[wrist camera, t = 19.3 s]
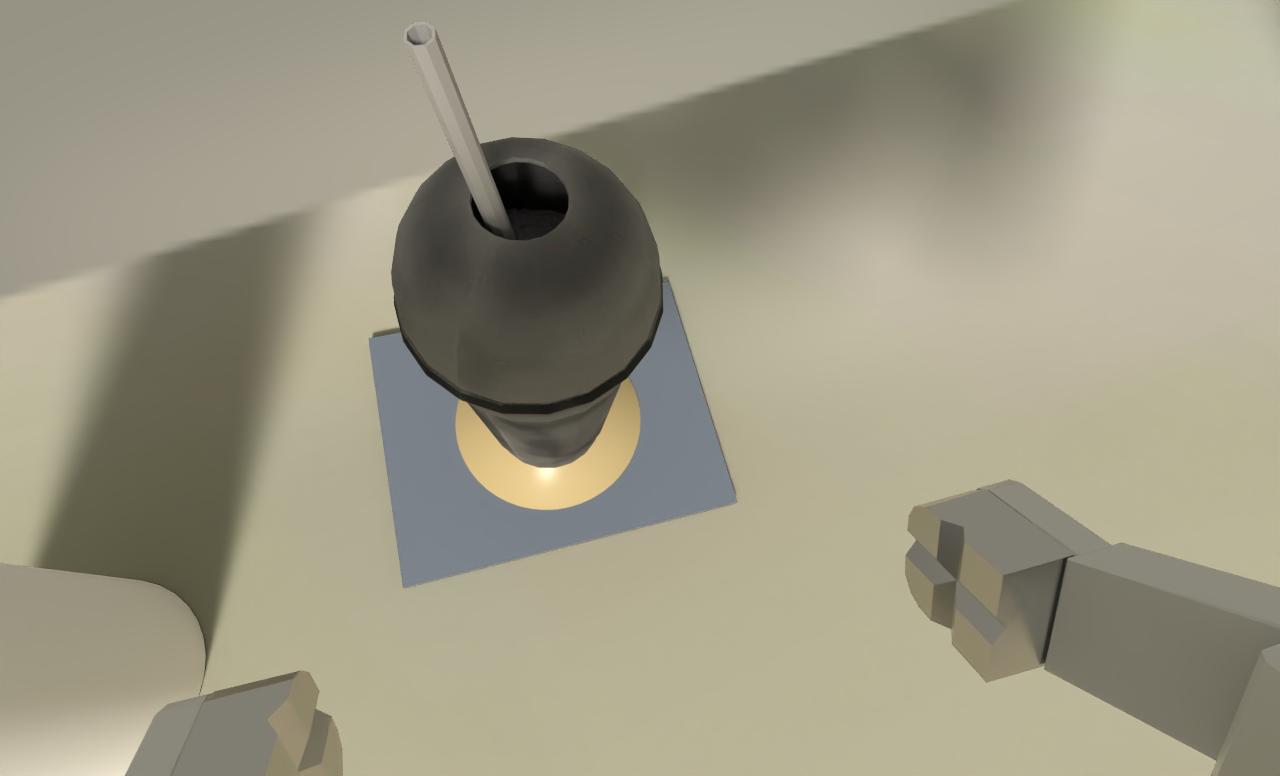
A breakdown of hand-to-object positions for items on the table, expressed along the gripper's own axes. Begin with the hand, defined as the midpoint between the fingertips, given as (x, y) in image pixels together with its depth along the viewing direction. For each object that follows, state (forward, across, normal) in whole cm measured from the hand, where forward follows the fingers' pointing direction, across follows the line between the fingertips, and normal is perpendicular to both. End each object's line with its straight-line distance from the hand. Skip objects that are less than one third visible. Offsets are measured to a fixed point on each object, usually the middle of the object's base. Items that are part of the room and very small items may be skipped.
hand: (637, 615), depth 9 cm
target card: (+20, 0, +7) cm, 21 cm away
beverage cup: (+19, 0, +7) cm, 20 cm away
